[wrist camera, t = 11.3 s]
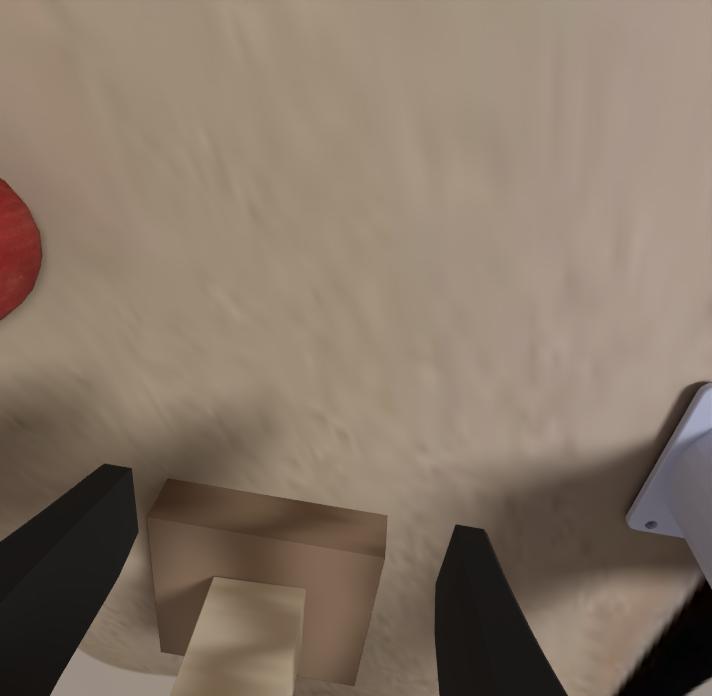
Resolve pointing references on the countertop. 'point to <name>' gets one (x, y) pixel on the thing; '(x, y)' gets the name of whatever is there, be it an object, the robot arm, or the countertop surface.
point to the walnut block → (268, 566)
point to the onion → (16, 250)
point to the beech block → (244, 641)
